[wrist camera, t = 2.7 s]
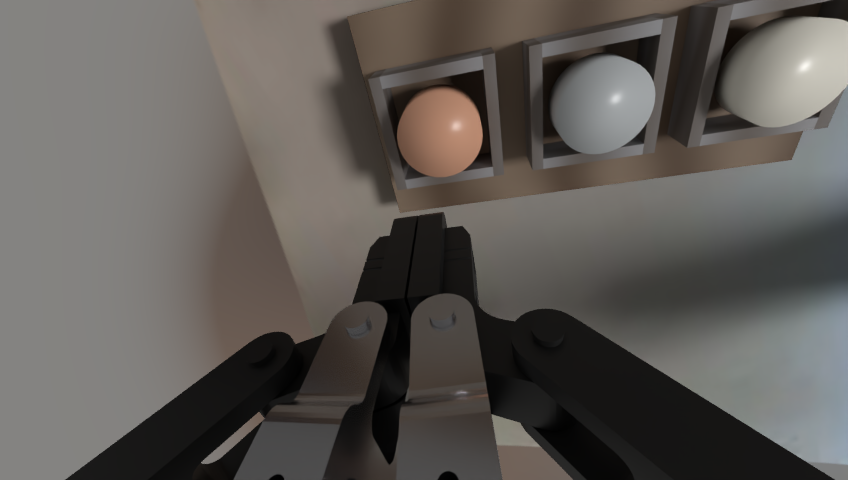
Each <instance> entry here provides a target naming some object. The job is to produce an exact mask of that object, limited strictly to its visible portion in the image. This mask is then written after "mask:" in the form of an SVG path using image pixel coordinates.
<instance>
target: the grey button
mask: <svg viewBox="0 0 848 480" xmlns="http://www.w3.org/2000/svg"><path fill="white" fill-rule="evenodd" d="M654 103H655V87H654V83H653V80H652V78H651V76H650V74H649V73H648V72H647V71H646V69H645V68H643V67H642V66H641V65H639V64H637V63H635V62H633V61H631V60H628V59H626V58H623V57H621V56H618V55H616V54H612V53H594V54H590V55H587V56H585V57H582V58H580V59H578V60H577V61H575V62H574V63H572V64H571V65H570V66H568V67H567V68H566V69H565V70H564V71H563V72H562V73H561V75H560V76H559V77H558V79H557V80H556V82H555V84H554V85H553V88H552V90H551V93H550V96H549V101H548V113H549V118H550V120H551V123H552V125H553V126H554V128H555V129H556V131H557V132H558V133H559V135H560V136H561V138H562V139H563V140H564V142H565V143H566V144H567V145H568V146H569V147H571V148H572V149H574V150H576V151H578V152H581V153H586V154H602V153H607V152H610V151H613V150H615V149H618V148H620V147H621V146H623V145H625V144H626V143H628V142H629V141H631V140H632V139H633V138H634V137H635V136H636V135H637V134H638V133H639V132H640V131H641V130H642V129H643V127H644V126H645V124H646V123H647V121H648V120H649V118H650V116H651V113H652V110H653V107H654Z"/></svg>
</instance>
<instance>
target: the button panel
mask: <svg viewBox="0 0 848 480" xmlns="http://www.w3.org/2000/svg"><path fill="white" fill-rule="evenodd" d="M783 16H808V17H821V18H833V19H841V20H844V21H847V22H848V0H414V1H410V2H406V3H402V4H398V5H393V6H389V7H385V8H381V9H377V10H373V11H368V12H364V13H360V14H356V15H352V16H348V17H347V19H348V22H349V26H350V30H351V33H352V37H353V41H354V44H355V48H356V52H357V55H358V59H359V63H360V66H361V70H362V74H363V78H364V81H365V85H366V89H367V92H368V96H369V100H370V103H371V107H372V111H373V114H374V118H375V122H376V125H377V129H378V133H379V137H380V140H381V144H382V148H383V151H384V155H385V159H386V162H387V166H388V170H389V173H390V177H391V181H392V184H393V188H394V192H395V196H396V199H397V203H398V207H399V210H400V213H402V212H409V211H416V210H424V209H431V208H439V207H446V206H453V205H461V204H468V203H476V202H483V201H490V200H498V199H505V198H513V197H520V196H527V195H535V194H542V193H550V192H557V191H564V190H572V189H579V188H587V187H594V186H601V185H609V184H616V183H624V182H631V181H638V180H646V179H653V178H661V177H668V176H675V175H683V174H690V173H698V172H705V171H712V170H720V169H727V168H735V167H742V166H749V165H757V164H764V163H772V162H779V161H786V160H792V157H793V155H794V152H795V150H796V147H797V145H798V142H799V140H800V138H801V135H802V133H803V131H806V130H813V129H820V128H826V127H828V125H829V123H830V121H831V118H832V116H833V114H834V112H835V109H836V107H837V105H838V102H839V100H840V98H841V96H842V93H843V91H844V90H843V91H842V92H841V93H840V94H839V95H838V96H837V97H836V98H835V99H834V100H833V101H832V102H831V103H829V104H828V105H827V106H826V107H824V108H823V109H821V110H820V111H819V112H817V113H815V114H814V115H812V116H810V117H808V118H806V119H804V120H802V121H799V122H797V123H794V124H791V125H787V126H782V127H762V126H759V125H756V124H754V123H751V122H749V121H747V120H745V119H743V118H740V117H738V116H736V115H734V114H732V113H729V112H728V111H726V110H724V109H723V108H722V107H721V106H720V105H719V103H718V101H717V99H716V96H715V90H714V87H715V80H716V76H717V72H718V70H719V67H720V65H721V63H722V61H723V60H724V58H725V57H726V55H727V54H728V52H729V51H730V50H731V49H732V47H733V46H734V45H735V44H736V43H737V42H738V41H739V40H740V39H741V38H742V37H744V36H745V35H746V34H747V33H749V32H750V31H751V30H753V29H754V28H756V27H758V26H759V25H761V24H763V23H765V22H767V21H770V20H773V19H775V18H779V17H783ZM594 53H612V54H616V55H618V56H621V57H623V58H626V59H628V60H631V61H633V62H635V63H637V64H639V65H641V66H642V67H643V68H645V69H646V71H647V72H648V73H649V74H650V76H651V78H652V80H653V83H654V87H655V103H654V107H653V110H652V113H651V116H650V118H649V120H648V121H647V123H646V124H645V126H644V127H643V129H642V130H641V131H640V132H639V133H638V134H637V135H636V136H635V137H634V138H633V139H632V140H631V141H629V142H628V143H626V144H625V145H623V146H621V147H620V148H618V149H615V150H613V151H610V152H607V153H602V154H586V153H581V152H578V151H576V150H574V149H572V148H571V147H569V146H568V145H567V144H566V143H565V142H564V140H563V139H562V138H561V136H560V135H559V133H558V132H557V131H556V129H555V128H554V126H553V125H552V123H551V120H550V118H549V113H548V101H549V96H550V93H551V90H552V88H553V85H554V84H555V82H556V80H557V79H558V77H559V76H560V75H561V73H562V72H563V71H564V70H565V69H566V68H567V67H568V66H570V65H571V64H572V63H574V62H575V61H577V60H578V59H580V58H582V57H585V56H587V55H590V54H594ZM436 84H447V85H452V86H455V87H457V88H459V89H461V90H463V91H464V92H466V93H467V94H468V95H469V96H470V97H471V98H472V100H473V101H474V103H475V104H476V106H477V108H478V111H479V115H480V120H481V126H482V134H483V137H482V144H481V148H480V151H479V153H478V155H477V157H476V158H475V160H474V161H473V162H472V163H471V164H470V166H468V167H467V168H466V169H465V170H463V171H461V172H460V173H457V174H455V175H452V176H448V177H432V176H428V175H425V174H422V173H420V172H418V171H417V170H415V169H414V168H412V167H411V166H410V165H409V164H408V163H407V161H406V160H405V159H404V157H403V156H402V154H401V151H400V149H399V146H398V141H397V130H398V125H399V122H400V119H401V116H402V114H403V112H404V109H405V107H406V105H407V103H408V102H409V100H410V99H411V98H412V97H413V96H414V95H415V94H416V93H417V92H418V91H420V90H422V89H423V88H426V87H428V86H431V85H436Z"/></svg>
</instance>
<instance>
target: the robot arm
mask: <svg viewBox="0 0 848 480" xmlns="http://www.w3.org/2000/svg"><path fill="white" fill-rule="evenodd" d="M366 260H367V262H365V266H364V269H363V270H364V272H362V275H361V278H360V281H359V284H358V288H357V291H356V294H355V297H354V300H353V303H352V305H350V306H348V307H346V308H345V309H343V310H342V311H340V312H339V313H338V314H337V315H336V316H335V317H334V318H333V320H332V321H331V323H330V325H329V327H328V329H327V332H326V333H325V334H323V335H320V336H317V337H314V338H312V339H309V340H306V341H303V342H300V343H298V344H295V343H294V341H293V339H292V338H291V337H290V335H288V334H286V333H284V332H272V333H267V334H264V335H262V336H260V337H258V338H256V339H254V340H253V341H251V342H250V343H248V344H247V345H246V346H244V347H243V348H242V349H240V350H239V351H238V352H236V353H235V354H234V355H232V356H231V357H229V358H228V359H227V360H225V361H224V362H223V363H221V364H220V365H219V366H218V367H216V368H215V369H213V370H212V371H211V372H209V373H208V374H207V375H205V376H204V377H203V378H201V379H200V380H199V381H197V382H196V383H195V384H193V385H192V386H191V387H189V388H188V389H187V390H185V391H184V392H182V394H180V395H178V396H177V397H176V398H174V399H173V400H172V401H170V402H169V403H168V404H166V405H165V406H164V407H162V408H161V409H160V410H158V411H157V412H156V413H154V414H153V415H152V416H150V417H149V418H148V419H146V420H145V421H144V422H142V423H141V424H140V425H138V426H137V427H136V428H134V429H133V430H131V431H130V432H129V433H127V434H126V435H125V436H123V437H122V438H121V439H119V440H118V441H117V442H115V443H114V444H113V445H111V446H110V447H109V448H107V449H106V450H105V451H103V452H102V453H101V454H99V455H98V456H97V457H95V458H94V459H93V460H91V461H90V462H88V463H87V464H86V465H85V466H83V467H82V468H80V469H79V470H78V471H76V472H75V473H74V474H72V475H71V476H70V477H68V478H67V479H66V480H502V474H501V468H500V463H499V456H498V450H497V445H496V439H495V433H494V427H493V421H492V415H491V414H493V415H496V416H500V417H503V418H506V419H510V420H513V421H517V422H520V423H521V425H522V426H523V428H524V429H525V431H526V432H527V433H528V434H529V435H530V436H531V437H532V438H533V439H534V440H535V441H536V442H537V443H538V444H539V445H540V446H541V447H542V448H543V449H544V450H545V451H546V452H547V453H548V454H549V455H550V456H551V457H552V458H553V459H554V460H555V461H556V462H557V463H558V464H559V465H560V466H561V467H562V468H563V469H564V470H565V471H566V473H568V475H570V477H571V478H572V479H573V480H834V479H833V478H831V477H830V476H828V475H826V474H825V473H823V472H821V471H820V470H818V469H817V468H815V467H813V466H812V465H810V464H809V463H807V462H806V461H804V460H802V459H801V458H799V457H797V456H796V455H794V454H793V453H791V452H789V451H788V450H786V449H785V448H783V447H781V446H780V445H778V444H777V443H775V442H773V441H772V440H770V439H768V438H767V437H765V436H764V435H762V434H760V433H759V432H757V431H756V430H754V429H752V428H751V427H749V426H748V425H746V424H744V423H743V422H741V421H739V420H738V419H736V418H735V417H733V416H731V415H730V414H728V413H727V412H725V411H723V410H722V409H720V408H719V407H717V406H715V405H714V404H712V403H710V402H709V401H707V400H706V399H704V398H702V397H701V396H699V395H698V394H696V393H694V392H693V391H691V390H690V389H688V388H686V387H685V386H683V385H682V384H680V383H678V382H677V381H675V380H673V379H672V378H670V377H669V376H667V375H665V374H664V373H662V372H661V371H659V370H657V369H656V368H654V367H653V366H651V365H649V364H648V363H646V362H644V361H643V360H641V359H640V358H638V357H636V356H635V355H633V354H632V353H630V352H628V351H627V350H625V349H624V348H622V347H620V346H619V345H617V344H615V343H614V342H612V341H611V340H609V339H607V338H606V337H604V336H603V335H601V334H599V333H598V332H596V331H595V330H593V329H591V328H590V327H588V326H587V325H585V324H583V323H582V322H580V321H578V320H577V319H575V318H574V317H572V316H570V315H568V314H566V313H564V312H561V311H558V310H553V309H537V310H533V311H529V312H527V313H525V314H523V315H522V316H520V317H519V318H518V319H517V320H516V321H515V322H514V321H508V320H503V319H499V318H495V317H493V316H491V315H489V314H487V313H485V312H484V311H483V310H482V309H481V308H480V307H479V303H478V291H477V279H476V270H475V264H474V257H473V251H472V244H471V238H470V234H469V233H468V232H467V231H466V230H465V229H464V227H463V226H459V227H451V228H447V225H446V219H445V215H444V212H440V213H433V214H425V215H420V216H412V217H405V218H397V219H394V221H393V225H392V229H391V233H390V236H383V237H379V238H378V240H377V241H376V242H375V243H374V244H373V245H372V246H371V247H370V250H369V253H368V256H367V259H366ZM258 412H260V413H261V415H262V416H263V417H264V418H265V419H264V420H263V421H262V422H261V423H260V424H259V425H258V426H256V427H255V428H254V429H253V430H252V431H251V432H250V433H248V434H247V435H246V436H245V437H244V438H243V439H242V440H241V441H240V442H238V443H237V444H236V445H235V446H234V447H233V448H232V449H231V450H229V452H227V453H226V454H225V455H224V456H223V457H222V458H220V459H219V460H217V461H215V462H213V463H210V464H202V463H201V462H202V461H203V460H204V459H205V458H206V457H207V456H208V455H209V454H211V453H212V452H213V451H214V450H215V449H216V448H217V447H219V446H220V445H221V444H222V443H223V442H224V441H226V440H227V439H228V438H229V437H230V436H231V435H233V434H234V432H236V431H237V430H238V429H239V428H241V427H242V426H243V425H244V424H245V423H246V422H247V421H249V420H250V419H251V418H252V417H253V416H254V415H255V414H257V413H258Z"/></svg>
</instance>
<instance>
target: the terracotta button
mask: <svg viewBox="0 0 848 480" xmlns="http://www.w3.org/2000/svg"><path fill="white" fill-rule="evenodd" d="M482 137H483V134H482V126H481V120H480V115H479V111H478V108H477V106H476V104H475V103H474V101H473V100H472V98H471V97H470V96H469V95H468V94H467V93H466V92H464V91H463V90H461V89H459V88H457V87H455V86H452V85H447V84H436V85H431V86H428V87H426V88H423V89H422V90H420V91H418V92H417V93H416V94H415V95H414V96H413V97H412V98H411V99H410V100H409V102H408V103H407V105H406V107H405V109H404V112H403V114H402V116H401V119H400V122H399V125H398V130H397V141H398V146H399V149H400V151H401V154H402V156H403V157H404V159H405V160H406V161H407V163H408V164H409V165H410V166H411V167H412V168H414V169H415V170H417V171H418V172H420V173H422V174H425V175H428V176H432V177H448V176H452V175H455V174H457V173H460V172H461V171H463V170H465V169H466V168H467V167H468V166H470V164H471V163H472V162H473V161H474V160H475V158H476V157H477V155H478V153H479V151H480V148H481V144H482Z"/></svg>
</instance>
